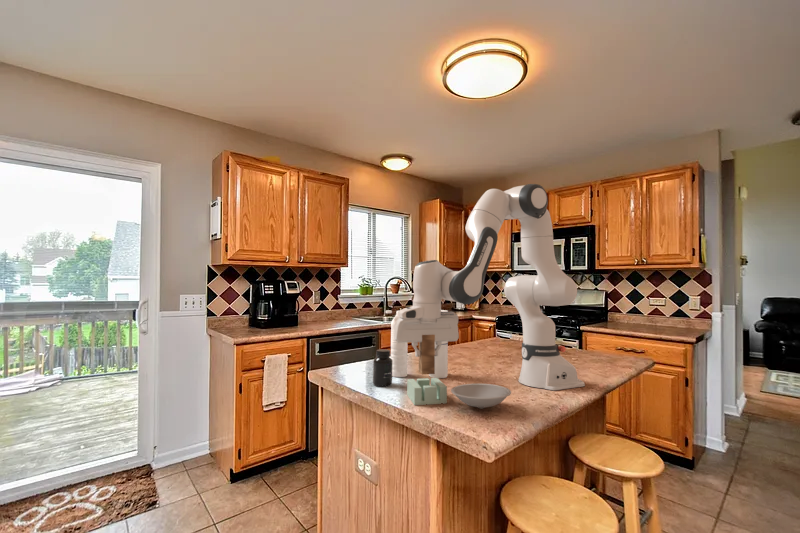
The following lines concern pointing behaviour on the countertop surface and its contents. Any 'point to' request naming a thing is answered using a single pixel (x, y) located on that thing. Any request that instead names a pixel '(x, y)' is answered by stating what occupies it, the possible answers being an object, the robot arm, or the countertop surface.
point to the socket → (426, 391)
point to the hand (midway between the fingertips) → (426, 356)
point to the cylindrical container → (441, 360)
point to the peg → (427, 354)
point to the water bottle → (398, 352)
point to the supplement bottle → (382, 368)
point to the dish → (481, 394)
